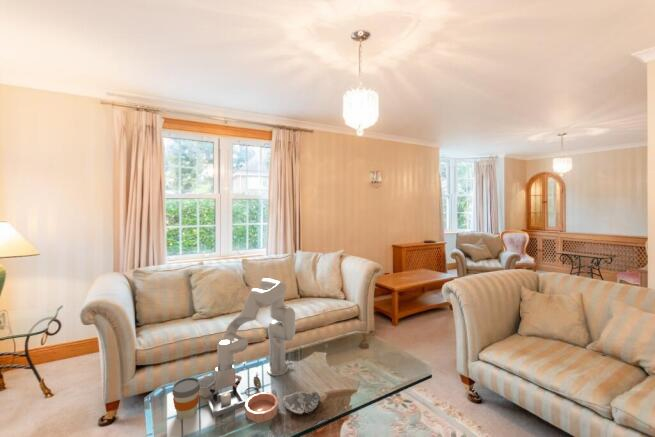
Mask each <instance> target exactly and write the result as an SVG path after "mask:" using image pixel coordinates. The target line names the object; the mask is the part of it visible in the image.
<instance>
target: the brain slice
mask: <svg viewBox="0 0 655 437" xmlns="http://www.w3.org/2000/svg"><path fill="white" fill-rule="evenodd" d="M320 400H321V396H320V395H319V393H318V392H317V391H316V392H315V391H310V392H308V391H302V390H301V391H295V392H292V393H291V394H288V395H284V396H283V398H282V404H283V406H284V408H285V409H286V410H287V409H288V410H289V411H288V410H287V411H288V412H290V411H291V412H290V413H293V414H295V415H299V414H298V413H304V411H306V412H311V411H312V412H313V411H314V410H315V409H317V407H318V405H319V403H320ZM312 412H311V413H312ZM304 414H305V413H304Z"/></svg>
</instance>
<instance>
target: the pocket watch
mask: <svg viewBox="0 0 655 437" xmlns="http://www.w3.org/2000/svg"><path fill="white" fill-rule="evenodd" d="M258 376H259V374H258V372H255V376H254V377H253V385H254V386H251V387H248V388H246V389H245V391H244V392H245V395H247V396H252V395H255V394H257V393H258V390H260V388H261V387H262V384H261V379H260V378H259V377H258ZM249 389H255V390H256V392H255V393H251V394H249V393H247V391H248V390H249Z"/></svg>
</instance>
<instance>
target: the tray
mask: <svg viewBox="0 0 655 437" xmlns="http://www.w3.org/2000/svg"><path fill="white" fill-rule="evenodd" d="M226 392H230V393H231V405H230V406H227V407H222V406H221V394H222V393H223V392H221V393H217V401H216V402H215V400H213V396H212V397H209V398H206V404H207V406H208V409H209V411H210V413H211V416H212V418H216V417H218V416H222V415H223V414H226V413H230V412H233V411H235V410H238V409H240V408H243V407H245V404H246V400H245V398H244V397H243V395H242V394H241V392H240V390H239V388H237V392H236V395H234V394H233V389H230V390H227V391H226Z"/></svg>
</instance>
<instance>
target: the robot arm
mask: <svg viewBox="0 0 655 437" xmlns="http://www.w3.org/2000/svg"><path fill="white" fill-rule="evenodd" d="M259 287H260V288H258V287H257V288H252V289H251V290H249V293H248V295H247V298H246V300H245V302H244V304H243V307H242V310H241V312H240V313H239V315H237V316H236V317H235V318H234V319H232V321H231V322H229V324H228V326H227V328H226V330H225V332H224V335H223V337H222V340H220V341H219V342H218V343H217V345H216V346H217V349H216V352H217V354H216V356H217V358H216V359H217V362H216V364H217V366H216V367H215V371H214V381H213V382H212V383H211V384H209V385H208V386H207V387H208V389H209V391H210V392H211V393H213V400H215V402H216V401H217V395H218V393H216V392H217V391H218V390H219V391H220V390H222V389H226V388H229V387H232V390H233V394H234V395H236V392H237V389H238V386H239V385H240V383H241V381H242V378H243V377H242V376H241V375H237V374H236V371H235V370H236V369H235V366H234V364H236V360H233V359H234V355H235V354H238V353H239V354H240V353H242V352H244V351H245V350H247V348H248V346H249V341H248V339H247V338H245V336H244V337H243V336H241V335H239V334H237V332H238V330H239V328H240V327H241V326H243V325H244V324H246V323H248V322H252V321H255V320H256V318H257V315H258V313H259V310H260V308H261V307H266V308H267V307H269V314H270V315H269V316H270V318H271V319H273V320H271V321H270V322H269V323H268V326H267V332H268V339H269V366H268V367H267V369H266V370H267V371H266V372H267V374H269V376H273V377H280V376H283V375H285V374H287V372H288V369H289V368H288V366H291V365H293V361H292V360H290V361H289V360H286V341H287V342H289V341H292V340H293V338H294V337H295V334H296V312H295V310H294V309H293V307H291V306H287V305H286V304H285V300H284V299H285V298H284V295H285V293H286V292H287V284H286V283H285V282H284V281H281V280H277V279H273V278H269V277H264V278H262V279H261V280H260V282H259ZM212 386H215V387H214V388H213V389H212V388H211V387H212ZM219 391H218V392H219Z"/></svg>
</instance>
